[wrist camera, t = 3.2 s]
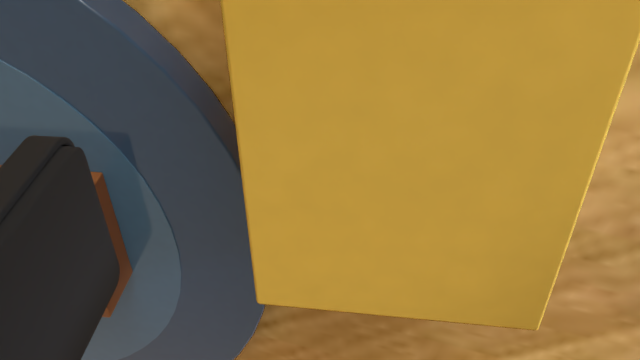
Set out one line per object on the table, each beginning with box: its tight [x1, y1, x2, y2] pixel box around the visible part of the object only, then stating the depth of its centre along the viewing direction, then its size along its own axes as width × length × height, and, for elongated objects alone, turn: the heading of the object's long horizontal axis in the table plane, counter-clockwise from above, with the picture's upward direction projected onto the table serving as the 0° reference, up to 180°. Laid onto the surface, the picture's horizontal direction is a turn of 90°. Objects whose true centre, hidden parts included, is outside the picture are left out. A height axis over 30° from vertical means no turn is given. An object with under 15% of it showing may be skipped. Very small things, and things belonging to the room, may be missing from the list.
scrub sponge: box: [220, 0, 640, 330], centre depth 13 cm, size 10×6×6 cm, turn 1°
